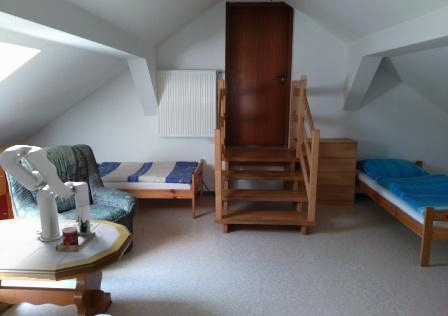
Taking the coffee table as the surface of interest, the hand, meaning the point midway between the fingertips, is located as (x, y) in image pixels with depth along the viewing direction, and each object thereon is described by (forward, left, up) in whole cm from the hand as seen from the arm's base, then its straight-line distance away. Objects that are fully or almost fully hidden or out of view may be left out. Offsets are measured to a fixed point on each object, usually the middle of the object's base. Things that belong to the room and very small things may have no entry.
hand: (85, 231), depth 214 cm
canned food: (0, -16, -3) cm, 17 cm away
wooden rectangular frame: (0, -10, -2) cm, 11 cm away
